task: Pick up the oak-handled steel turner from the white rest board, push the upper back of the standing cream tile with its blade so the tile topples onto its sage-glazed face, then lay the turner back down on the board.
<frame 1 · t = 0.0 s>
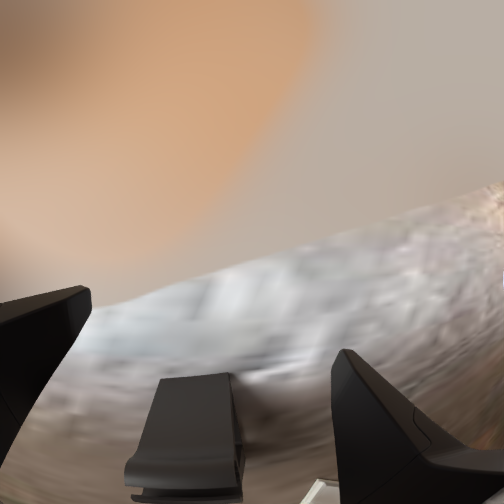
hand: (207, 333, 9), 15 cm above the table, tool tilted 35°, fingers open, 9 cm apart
phone stand: (203, 420, 21), on the table
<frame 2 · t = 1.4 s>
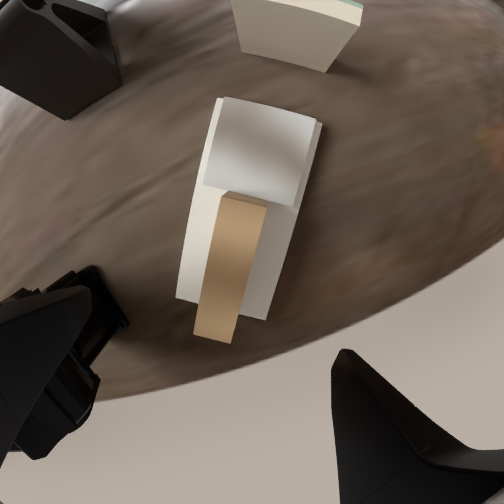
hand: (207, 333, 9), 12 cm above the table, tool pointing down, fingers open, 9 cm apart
tile: (285, 52, 16), on the table
tool rest: (243, 213, 20), on the table
turner: (231, 262, 20), point 1 cm above the table, touching tool rest
phone stand: (85, 62, 16), on the table
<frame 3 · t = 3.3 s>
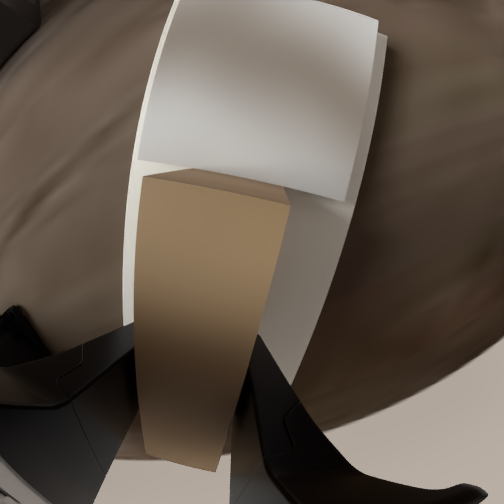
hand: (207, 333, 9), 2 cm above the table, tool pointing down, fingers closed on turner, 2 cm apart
tool rest: (233, 218, 9), on the table
turner: (213, 317, 10), point 1 cm above the table, touching gripper, tool rest
phone stand: (8, 17, 6), on the table
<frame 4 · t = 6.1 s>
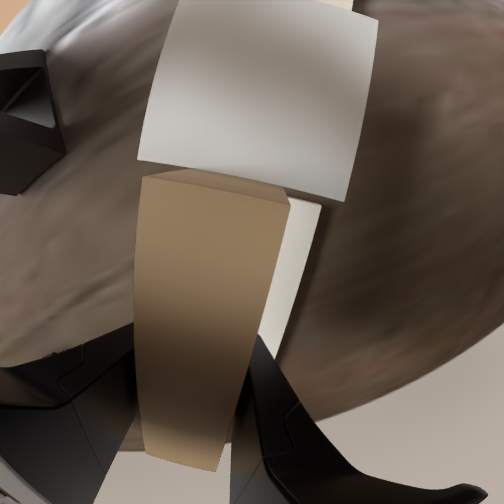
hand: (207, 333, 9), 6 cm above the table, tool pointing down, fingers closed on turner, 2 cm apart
tool rest: (222, 316, 16), on the table
turner: (213, 317, 10), point 5 cm above the table, touching gripper
phone stand: (28, 121, 13), on the table
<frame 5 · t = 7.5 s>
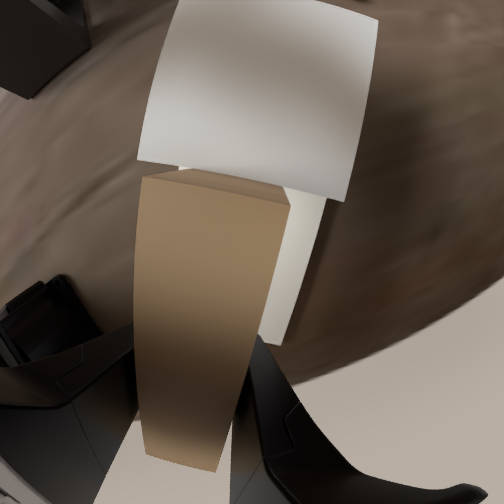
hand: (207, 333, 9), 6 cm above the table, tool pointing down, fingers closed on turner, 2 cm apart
tool rest: (248, 201, 14), on the table
turner: (212, 317, 10), point 5 cm above the table, touching gripper
phone stand: (53, 32, 11), on the table
when the fingers open (3 cm above the table, at t = 8.6 s): turner stays where it is, resting on tool rest.
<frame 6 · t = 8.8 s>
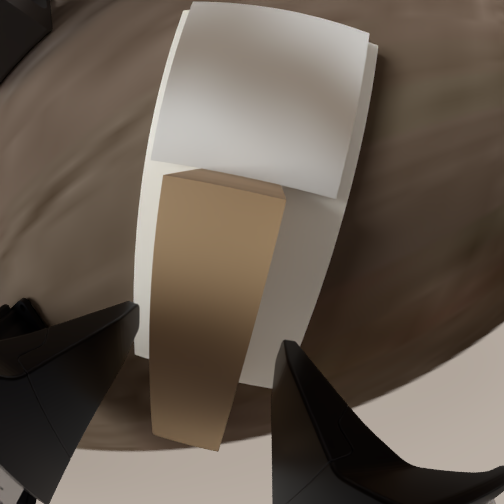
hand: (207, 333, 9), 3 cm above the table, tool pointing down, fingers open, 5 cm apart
tool rest: (237, 212, 10), on the table
turner: (217, 305, 11), point 1 cm above the table, touching tool rest
phone stand: (18, 20, 7), on the table
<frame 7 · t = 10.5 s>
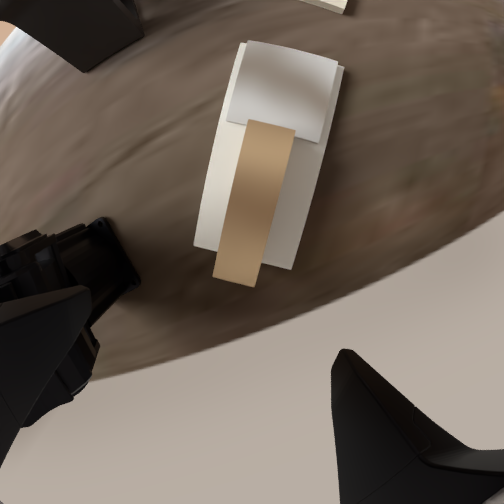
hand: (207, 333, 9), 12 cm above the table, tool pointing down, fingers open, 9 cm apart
tile: (303, 0, 14), on the table, tilted 90°
tool rest: (267, 152, 18), on the table
turner: (254, 203, 19), point 1 cm above the table, touching tool rest
phone stand: (106, 21, 15), on the table
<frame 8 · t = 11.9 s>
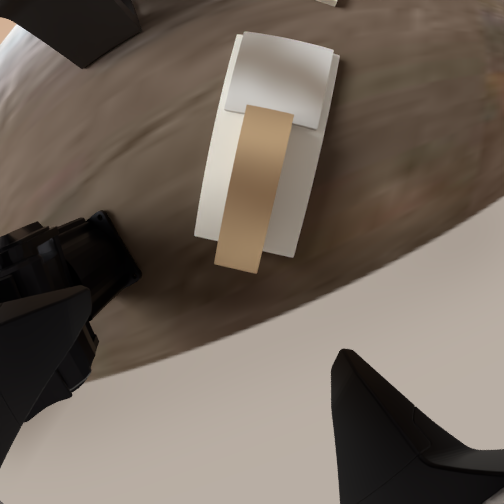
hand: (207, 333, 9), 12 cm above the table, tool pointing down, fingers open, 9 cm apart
tool rest: (266, 140, 18), on the table
turner: (254, 191, 19), point 1 cm above the table, touching tool rest
phone stand: (103, 18, 15), on the table
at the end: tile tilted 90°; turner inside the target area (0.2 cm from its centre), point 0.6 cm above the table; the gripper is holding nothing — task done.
